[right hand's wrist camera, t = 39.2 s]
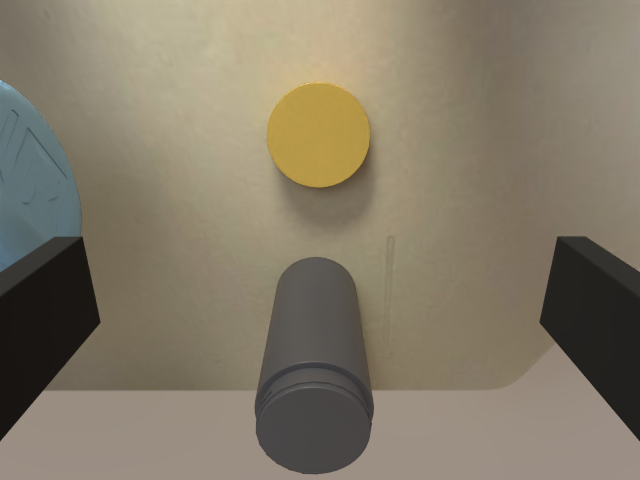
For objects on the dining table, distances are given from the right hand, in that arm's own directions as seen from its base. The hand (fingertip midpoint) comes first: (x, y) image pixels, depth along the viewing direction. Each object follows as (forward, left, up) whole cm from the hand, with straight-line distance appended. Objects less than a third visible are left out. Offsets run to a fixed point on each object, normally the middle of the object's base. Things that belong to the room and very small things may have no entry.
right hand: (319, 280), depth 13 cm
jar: (+8, -14, -29) cm, 34 cm away
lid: (0, 0, -28) cm, 28 cm away
